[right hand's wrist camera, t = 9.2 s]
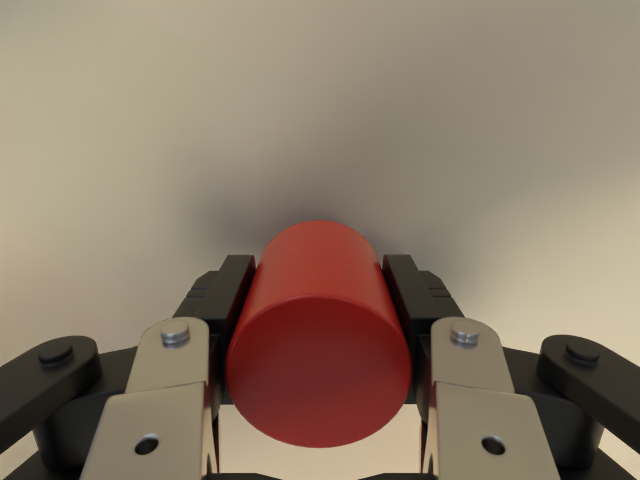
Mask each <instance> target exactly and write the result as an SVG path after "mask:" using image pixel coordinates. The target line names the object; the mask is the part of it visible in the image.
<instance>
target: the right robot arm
mask: <svg viewBox="0 0 640 480" xmlns="http://www.w3.org/2000/svg"><path fill="white" fill-rule="evenodd" d="M255 271H256V265H255V258H254V255H228V256H227V258H226V259H225V261H224V263H223V265H222V267H221V268H220V270H219V271H209V272H207V273H206V274H204V275H203V276H201V277H199V278H198V279H197V280H196V282H195V283H194V285H193V286H192V288H191V290H190V291H189V292H188V294H187V296H186V298H185V299H184V300H183V302H182V303H181V305H180V306H179V308H178V309H177V311H176V313H175V314H174V316H173V317H172V318H171V319H167V320H164V321H161V322H159V323H156V324H155V325H153V326H151V327H150V328H148V329H147V330H146V331H145V332H144V333H143V335H142V336H141V339H140V342H139V345H138V346H135V347H132V348H128V349H123V350H118V351H113V352H108V353H103V354H99V353H98V349H97V345H96V342H95V341H94V340H93V339H91V338H89V337H85V336H67V337H61V338H57V339H53V340H50V341H47V342H44V343H42V344H40V345H38V346H36V347H34V348H32V349H30V350H29V351H27V352H25V353H23V354H22V355H20V356H18V357H17V358H15V359H13V360H11V361H10V362H8V363H6V364H5V365H3V366H1V367H0V454H2V453H3V452H4V451H5V450H7V449H8V448H9V447H11V446H12V445H13V444H14V443H16V442H17V441H18V440H20V439H21V438H22V437H24V436H25V435H26V434H27V433H29V432H30V431H31V430H32V431H33V434H34V437H35V440H36V443H37V446H38V449H39V450H38V451H37V452H36V453H35V454H33V455H32V456H31V457H30V458H29V459H27V460H26V461H25V462H24V463H23V464H21V465H20V466H19V467H18V468H17V469H15V470H14V471H13V472H12V473H11V474H9V475H8V476H7V477H6V478H4V479H3V480H281V479H277V478H273V477H269V476H265V475H261V474H257V473H221V438H220V421H219V412H218V411H219V408H220V405H234V403H233V401H232V399H231V397H230V394H229V392H228V389H227V385H226V380H225V359H226V354H227V351H228V348H229V345H230V342H231V339H232V336H233V333H234V330H235V328H236V325H237V322H238V319H239V316H240V314H241V311H242V308H243V305H244V302H245V300H246V297H247V294H248V291H249V288H250V286H251V283H252V280H253V277H254V274H255ZM382 271H383V274H384V277H385V280H386V283H387V286H388V289H389V292H390V295H391V298H392V301H393V304H394V307H395V309H396V312H397V315H398V318H399V321H400V324H401V327H402V330H403V333H404V336H405V339H406V342H407V344H408V348H409V351H410V354H411V359H412V366H413V367H412V381H411V386H410V389H409V392H408V395H407V398H406V400H405V402H404V403H403V404H417V407H418V410H419V414H420V416H421V421H420V438H419V473H383V474H379V475H375V476H371V477H367V478H363V479H359V480H637V479H635V478H634V477H633V476H632V475H631V474H629V473H628V472H627V471H626V470H625V469H623V468H622V467H621V466H620V465H619V464H617V463H616V462H615V461H614V460H613V459H611V458H610V457H609V456H608V455H607V454H605V453H604V452H603V451H602V450H601V449H599V448H598V446H599V443H600V440H601V437H602V434H603V431H604V428H606V429H607V430H609V431H610V432H611V433H613V434H614V435H615V436H616V437H618V438H619V439H620V440H622V441H623V442H624V443H625V444H627V445H628V446H629V447H631V448H632V449H633V450H635V451H636V452H637V453H638V454H640V367H639V366H637V365H635V364H634V363H632V362H630V361H629V360H627V359H625V358H623V357H622V356H620V355H618V354H617V353H615V352H613V351H611V350H610V349H608V348H606V347H604V346H603V345H601V344H598V343H596V342H594V341H591V340H588V339H585V338H582V337H577V336H572V335H553V336H549V337H547V338H546V339H544V340H543V342H542V346H541V350H540V354H536V353H531V352H526V351H521V350H516V349H511V348H506V347H503V346H502V345H501V342H500V339H499V336H498V335H497V333H496V332H495V331H494V330H493V329H492V328H490V327H489V326H487V325H485V324H484V323H481V322H479V321H476V320H473V319H469V318H465V317H464V315H463V313H462V312H461V310H460V309H459V307H458V306H457V304H456V302H455V301H454V299H453V298H451V295H450V293H449V291H448V290H446V287H445V285H444V284H443V282H442V280H441V279H440V278H439V277H437V276H435V275H434V274H432V273H431V272H429V271H418V269H417V267H416V265H415V263H414V261H413V260H412V258H411V256H410V255H384V257H383V264H382Z"/></svg>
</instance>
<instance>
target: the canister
mask: <svg viewBox="0 0 640 480" xmlns="http://www.w3.org/2000/svg"><path fill="white" fill-rule="evenodd" d="M412 367H413V366H412V359H411V354H410V351H409V348H408V344H407V342H406V339H405V336H404V333H403V330H402V327H401V324H400V321H399V318H398V315H397V312H396V309H395V307H394V304H393V301H392V298H391V295H390V292H389V289H388V286H387V283H386V280H385V277H384V274H383V271H382V269H381V266H380V263H379V260H378V257H377V255H376V253H375V251H374V249H373V248H372V246H371V245H370V244H369V242H368V241H367V240H366V239H365V238H364V237H363V236H361V235H360V234H359V233H358V232H356V231H355V230H353V229H351V228H349V227H347V226H345V225H342V224H339V223H336V222H331V221H322V220H316V221H307V222H302V223H299V224H296V225H293V226H291V227H289V228H287V229H285V230H284V231H282V232H280V233H279V234H278V235H277V236H276V237H274V238H273V239H272V240H271V242H270V243H269V244H268V245H267V247H266V248H265V250H264V251H263V253H262V255H261V258H260V260H259V263H258V266H257V269H256V271H255V274H254V277H253V280H252V283H251V286H250V288H249V291H248V294H247V297H246V300H245V302H244V305H243V308H242V311H241V314H240V316H239V319H238V322H237V325H236V328H235V330H234V333H233V336H232V339H231V342H230V345H229V348H228V351H227V354H226V359H225V380H226V385H227V389H228V392H229V394H230V397H231V399H232V401H233V403H234V405H235V407H236V408H237V409H238V411H239V412H240V414H241V415H242V416H243V417H244V418H245V419H246V420H247V421H248V422H249V423H250V424H251V425H253V426H254V427H255V428H256V429H258V430H259V431H261V432H262V433H264V434H265V435H267V436H270V437H272V438H274V439H276V440H278V441H281V442H284V443H287V444H291V445H295V446H301V447H307V448H330V447H337V446H342V445H346V444H350V443H353V442H356V441H359V440H362V439H364V438H366V437H368V436H370V435H372V434H373V433H375V432H377V431H378V430H380V429H381V428H382V427H384V426H385V425H386V424H387V423H388V422H389V421H390V420H391V419H392V418H393V417H394V416H395V415H396V414H397V413H398V411H399V410H400V408H401V407H402V405H403V403H404V402H405V400H406V398H407V395H408V392H409V389H410V386H411V381H412Z"/></svg>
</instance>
